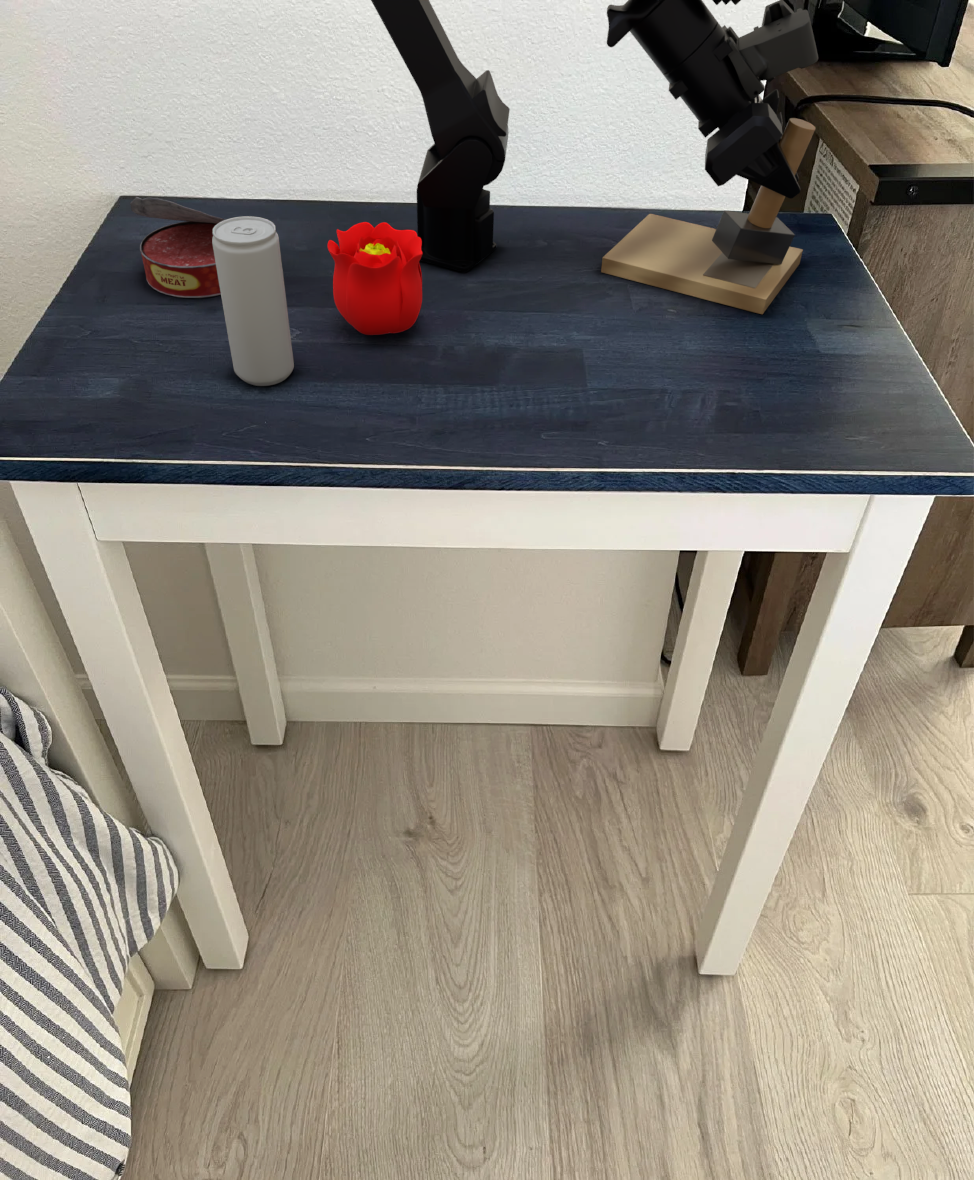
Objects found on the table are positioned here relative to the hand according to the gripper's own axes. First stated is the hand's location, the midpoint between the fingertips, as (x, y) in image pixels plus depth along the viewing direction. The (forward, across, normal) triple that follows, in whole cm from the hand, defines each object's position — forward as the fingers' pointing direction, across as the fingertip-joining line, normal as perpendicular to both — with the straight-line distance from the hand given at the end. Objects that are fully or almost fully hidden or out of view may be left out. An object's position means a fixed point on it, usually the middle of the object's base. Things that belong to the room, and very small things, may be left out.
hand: (795, 189), depth 91 cm
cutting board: (+1, 0, +11) cm, 11 cm away
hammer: (+2, 0, +7) cm, 7 cm away
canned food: (-32, -11, +43) cm, 55 cm away
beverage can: (-24, -27, +35) cm, 50 cm away
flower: (-19, -18, +30) cm, 40 cm away
